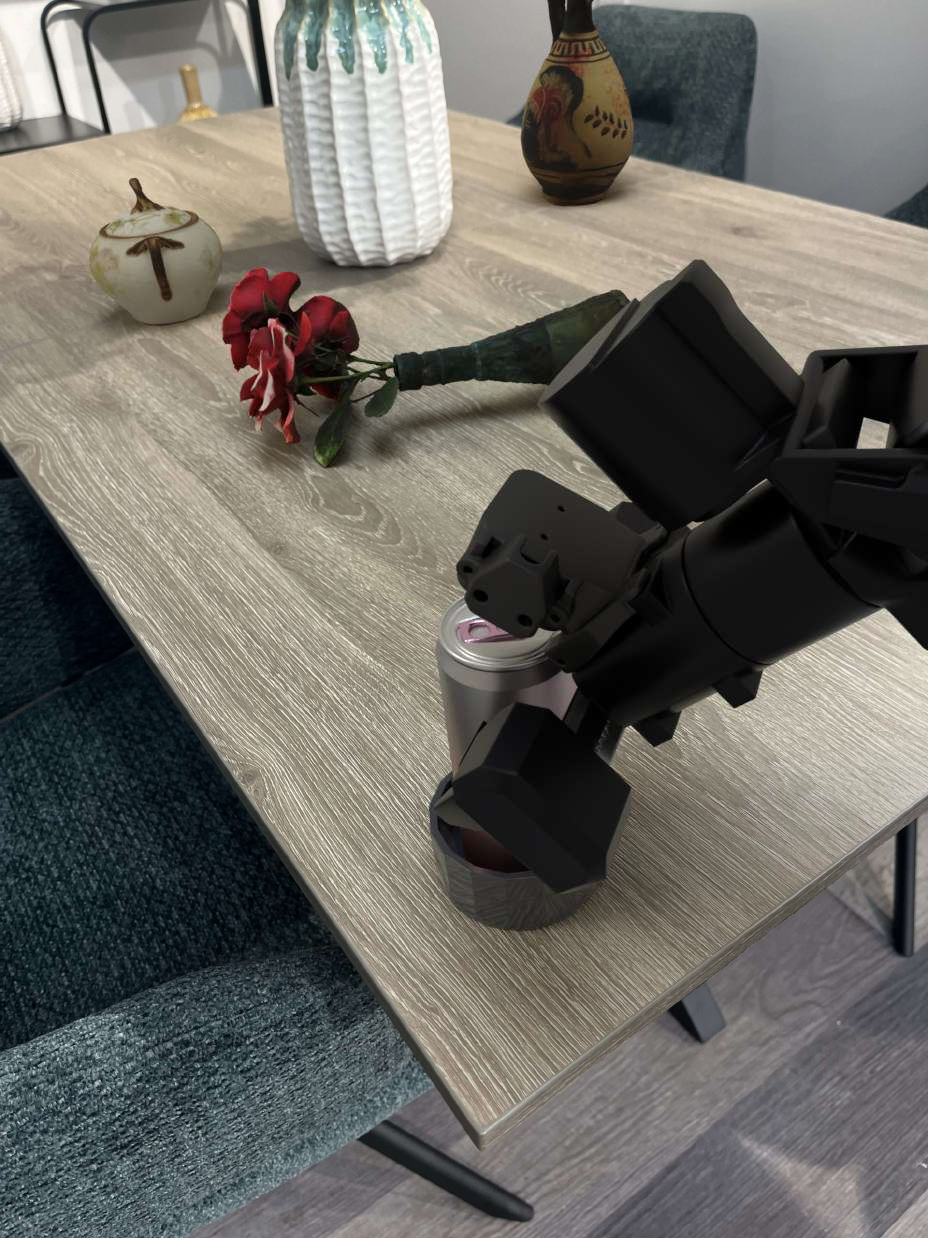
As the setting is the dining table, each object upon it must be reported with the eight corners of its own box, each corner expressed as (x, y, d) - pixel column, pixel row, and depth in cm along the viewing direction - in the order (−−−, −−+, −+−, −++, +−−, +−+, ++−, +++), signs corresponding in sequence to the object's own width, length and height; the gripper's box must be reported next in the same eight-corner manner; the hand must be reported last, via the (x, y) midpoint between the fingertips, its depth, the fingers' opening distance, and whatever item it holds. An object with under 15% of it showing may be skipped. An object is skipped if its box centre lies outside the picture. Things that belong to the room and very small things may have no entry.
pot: (633, 885, 50) (635, 832, 48) (483, 958, 47) (476, 907, 45) (549, 777, 56) (546, 725, 54) (412, 837, 54) (402, 786, 51)
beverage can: (456, 818, 54) (424, 593, 44) (565, 799, 54) (556, 571, 45) (474, 911, 49) (443, 680, 40) (594, 889, 49) (590, 655, 40)
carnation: (610, 454, 99) (253, 509, 93) (568, 286, 103) (221, 328, 96) (662, 382, 84) (239, 442, 78) (610, 188, 87) (202, 231, 81)
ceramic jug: (656, 193, 140) (663, -67, 121) (564, 219, 134) (557, -49, 116) (584, 170, 152) (581, -69, 133) (497, 193, 146) (481, -53, 128)
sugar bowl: (106, 296, 126) (66, 170, 117) (224, 274, 129) (195, 148, 120) (110, 354, 111) (65, 213, 102) (244, 327, 114) (212, 188, 105)
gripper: (651, 330, 42) (437, 519, 52) (485, 589, 29) (244, 770, 39) (825, 517, 44) (585, 662, 54) (745, 839, 31) (449, 947, 41)
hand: (480, 742), depth 47 cm, fingers open, 9 cm apart
